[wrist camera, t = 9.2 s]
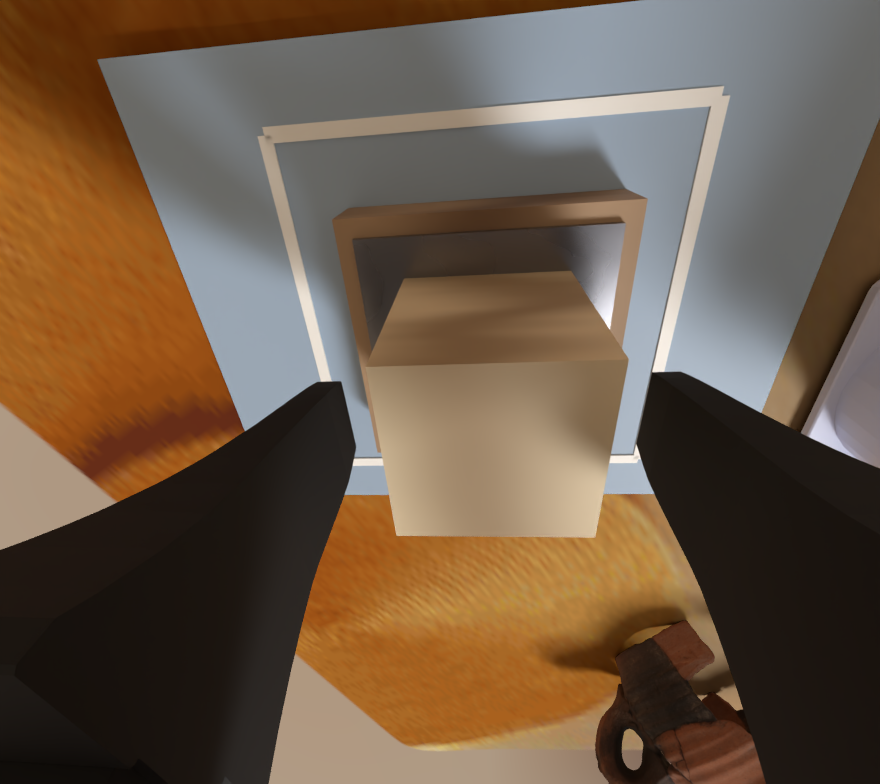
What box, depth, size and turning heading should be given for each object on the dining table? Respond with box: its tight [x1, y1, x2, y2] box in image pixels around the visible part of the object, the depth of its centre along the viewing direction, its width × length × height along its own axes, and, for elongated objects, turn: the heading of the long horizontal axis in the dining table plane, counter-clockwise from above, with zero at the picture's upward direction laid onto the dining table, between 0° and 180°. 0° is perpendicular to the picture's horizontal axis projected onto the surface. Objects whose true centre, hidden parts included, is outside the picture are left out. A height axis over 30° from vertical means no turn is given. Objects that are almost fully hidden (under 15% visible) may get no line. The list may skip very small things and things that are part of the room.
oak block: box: [366, 271, 629, 537], centre depth 11 cm, size 4×4×5 cm
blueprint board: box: [97, 0, 880, 495], centre depth 14 cm, size 20×16×3 cm
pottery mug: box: [595, 621, 766, 784], centre depth 25 cm, size 12×10×8 cm
